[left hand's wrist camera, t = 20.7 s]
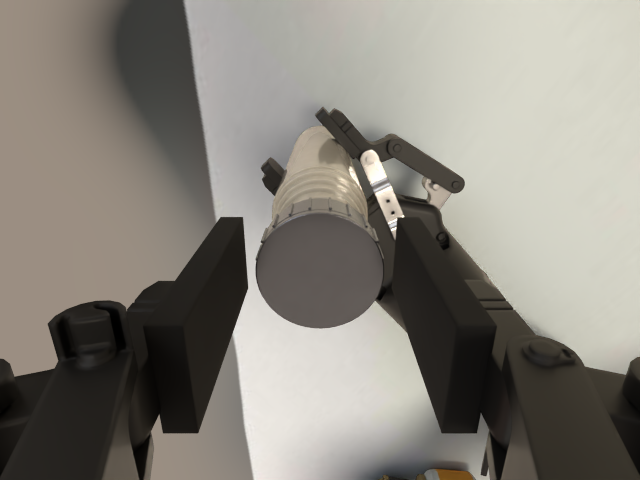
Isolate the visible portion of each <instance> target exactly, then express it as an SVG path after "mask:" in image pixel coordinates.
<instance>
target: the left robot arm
mask: <svg viewBox="0 0 640 480" xmlns="http://www.w3.org/2000/svg"><path fill="white" fill-rule="evenodd" d="M247 290H248V279H247V266H246V252H245V239H244V225H243V217H221V218H220V219H219V220H218V222H217V223H216V224H215V226H214V227H213V229H212V230H211V232H210V233H209V234H208V236H207V237H206V238H205V240H204V241H203V243H202V244H201V245H200V247H199V248H198V250H197V251H196V252H195V254H194V255H193V257H192V258H191V259H190V261H189V262H188V264H187V265H186V266H185V268H184V269H183V270H182V272H181V273H180V275H179V276H178V278H177V279H176V280H175V281H158V282H156V283H154V284H153V285H151V286H149V287H148V288H146V289H144V290H143V291H142V292H141V294H140V295H139V296H138V297H137V298H136V300H135V302H134V303H132V304H131V306H130V307H129V308H128V309H127V311H126V307H125V306H124V305H122V304H121V303H119V302H114V301H93V302H88V303H84V304H80V305H77V306H74V307H72V308H69V309H67V310H65V311H63V312H61V313H60V314H58V315H56V316H55V317H54V318H53V319H52V320H51V321H50V322H49V323H48V326H49V330H50V333H51V337H52V340H53V344H54V347H55V351H56V354H57V357H58V363H57V365H56V367H55V369H51V370H47V371H42V372H36V373H31V374H27V375H21V376H16V377H14V374H13V371H12V369H11V366H10V364H9V363H8V362H7V361H5V360H4V359H0V480H150V476H151V468H152V460H153V452H154V446H153V439H152V434H151V430H152V428H153V426H154V424H155V422H156V420H157V417H158V415H159V414H160V419H161V425H162V430H163V433H198V432H199V429H200V426H201V424H202V421H203V418H204V415H205V412H206V409H207V406H208V403H209V400H210V397H211V394H212V391H213V389H214V386H215V383H216V380H217V377H218V374H219V371H220V368H221V365H222V362H223V360H224V357H225V354H226V351H227V348H228V345H229V342H230V339H231V336H232V333H233V330H234V328H235V325H236V322H237V319H238V316H239V313H240V310H241V307H242V304H243V301H244V298H245V296H246V293H247ZM392 290H393V293H394V296H395V298H396V301H397V304H398V307H399V310H400V313H401V316H402V319H403V322H404V325H405V328H406V330H407V333H408V336H409V339H410V342H411V345H412V348H413V351H414V354H415V357H416V360H417V362H418V365H419V368H420V371H421V374H422V377H423V380H424V383H425V386H426V389H427V392H428V394H429V397H430V400H431V403H432V406H433V409H434V412H435V415H436V418H437V421H438V424H439V426H440V429H441V432H442V433H477V430H478V425H479V419H480V414H481V413H482V415H483V417H484V420H485V422H486V424H487V426H488V428H489V434H488V439H487V444H486V449H485V454H484V459H483V464H482V469H481V475H483V476H486V475H487V471H488V467H489V475H490V480H640V357H637V358H635V359H634V360H633V361H631V363H630V366H629V369H628V371H627V374H626V375H623V374H618V373H613V372H608V371H603V370H598V369H593V368H589V367H585V366H584V364H583V362H582V360H581V359H580V358H579V357H578V355H577V354H576V353H575V352H574V351H573V350H571V349H570V348H568V347H567V346H565V345H564V344H562V343H559V342H557V341H555V340H552V339H550V338H546V337H541V336H537V335H535V333H534V332H533V331H532V330H531V329H530V327H529V326H528V325H527V324H526V323H525V322H524V320H523V319H522V318H521V317H520V316H519V314H518V313H517V312H516V311H515V310H513V307H512V306H511V305H510V304H509V303H508V301H506V299H505V298H504V297H503V295H502V294H501V293H500V292H499V291H498V290H497V289H496V288H495V287H493V286H491V285H490V284H488V283H486V282H485V281H483V280H464V279H463V277H462V276H461V275H460V273H459V272H458V271H457V269H456V268H455V266H454V265H453V264H452V262H451V261H450V259H449V258H448V257H447V255H446V254H445V252H444V251H443V250H442V248H441V247H440V245H439V244H438V243H437V241H436V240H435V238H434V237H433V236H432V234H431V233H430V231H429V230H428V229H427V227H426V226H425V225H424V223H423V222H422V220H421V219H420V218H419V217H397V225H396V239H395V252H394V266H393V279H392Z"/></svg>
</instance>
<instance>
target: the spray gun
mask: <svg viewBox="0 0 640 480" xmlns="http://www.w3.org/2000/svg"><path fill="white" fill-rule="evenodd" d="M379 480H407V479H401V478H395V477H388V475H383V478H381V479H379ZM416 480H476V479H475V478H474V477H473V475H472V474H471V473H470V472H468V471H455V470H443V469H430V470H427V471H426V472H425V473H424V474H418V475H417V477H416Z"/></svg>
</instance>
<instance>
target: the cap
mask: <svg viewBox="0 0 640 480" xmlns="http://www.w3.org/2000/svg"><path fill="white" fill-rule="evenodd" d="M261 243H262V244H261V245H260V248H259V251H258V254H257V256H256V260H257V261H256V279H257V284H258V287H259V290H260V292H261V294H262V296H263V298H264V299H265V301H266V302H267V304H268V305H269V306H270V307H271V308H272V309H273V310H274V311H275V312H276V313H277V314H278V315H280V316H281V317H283V318H284V319H286V320H288V321H290V322H292V323H295V324H297V325H300V326H304V327H310V328H330V327H336V326H339V325H343V324H345V323H348V322H350V321H352V320H354V319H355V318H357V317H359V316H360V315H361V314H363V313H364V312H365V311H366V310H367V309H368V308H369V307H370V306H371V305H372V303H373V302H374V301H375V299H376V298H377V296H378V294H379V292H380V289H381V287H382V283H383V279H384V262H383V261H384V257H383V254H382V252H381V249H380V246H379V245H378V243H379V240H378V237H377V234H376V232H375V229H374V228H373V229H372V227H371V225H370V224H369V223H368V221H367V220H366V218H365V215H364V214H361V213H359V212H358V211H357V210H356V209H354V208H353V207H351V206H350V204H349V203H347V204H345V203H343V202H340V201H337V200H333V199H331V198H330V197H329V198H328V199H327V198H314V199H312V197H310V198H309V199H307V200H303V201H300V202H297V203H295V204H293V203H291V204H290V206H289V207H287V208H286V209H284V210H283V211H282V212H281V213H279V214H276V215H275V218H274V220H273V221H272V222H271V224H270V225H269V227H268V228H266V229H265V231H264V234H263V237H262V240H261Z"/></svg>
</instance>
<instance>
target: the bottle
mask: <svg viewBox="0 0 640 480" xmlns="http://www.w3.org/2000/svg"><path fill="white" fill-rule="evenodd" d="M310 197H312V199H314V198H327V199H328V198H329V197H330V198H331V199H333V200H337V201H340V202H343V203H345V204H347V203H349V204H350V206H351V207H353V208H354V209H356V210H357V211H358V212H359V213H361V214H364V215H365V218H366V220H367V221H368V208H367V202H366V198H365V195H364V193H363V190H362V187H361V185H360V182H359V180H358V177H357V174H356V172H355V169H354V166H353V164H352V161H351V159H350V156H349V154H348V153H347V151H346V150H345V149H344V148H343V147H342V146H341V145H340V144H339V142H338V141H337V140H336V139H335V138H334V137H333V136H332V135H331V133H330V132H329V131H328V130H327V129H326V128H325V127H324V126H314V127H311V128H308V129H307V130H305V131H304V132H303V133H302V134H301V135H300V136H299V137H298V139H297V141H296V143H295V146H294V148H293V151H292V153H291V156H290V159H289V161H288V164H287V166H286V169H285V172H284V174H283V177H282V179H281V182H280V185H279V187H278V190H277V192H276V195H275V198H274V202H273V208H272V221H273V220H274V218H275V215H276V214H279V213H281V212H282V211H283V210H284V209H286V208H287V207H289V206H290V204H291V203H293V204H295V203H297V202H300V201H303V200H307V199H309V198H310Z"/></svg>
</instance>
